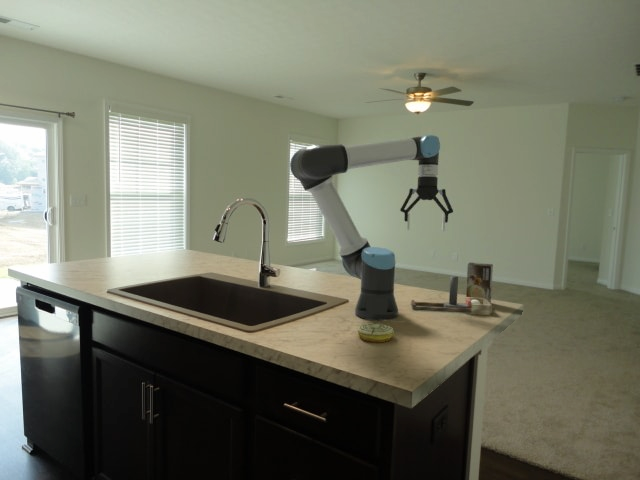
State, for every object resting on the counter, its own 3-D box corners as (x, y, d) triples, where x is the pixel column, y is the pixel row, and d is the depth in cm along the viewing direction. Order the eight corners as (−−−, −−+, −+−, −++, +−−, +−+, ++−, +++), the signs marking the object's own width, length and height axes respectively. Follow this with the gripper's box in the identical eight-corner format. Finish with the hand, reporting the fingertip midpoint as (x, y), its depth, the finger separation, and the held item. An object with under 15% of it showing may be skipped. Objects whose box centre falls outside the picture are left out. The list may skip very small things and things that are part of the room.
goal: (471, 314, 164) (472, 304, 163) (465, 305, 175) (466, 297, 175) (491, 315, 163) (492, 305, 162) (484, 306, 174) (485, 298, 174)
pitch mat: (412, 311, 167) (412, 310, 167) (410, 304, 178) (410, 303, 178) (491, 315, 163) (491, 314, 163) (484, 307, 174) (484, 307, 174)
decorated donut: (379, 331, 143) (379, 319, 142) (400, 341, 133) (400, 328, 133) (351, 335, 138) (351, 323, 138) (370, 346, 129) (371, 333, 128)
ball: (474, 298, 167) (483, 304, 167) (472, 296, 171) (481, 302, 170) (468, 307, 167) (477, 313, 167) (466, 305, 171) (475, 310, 171)
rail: (412, 309, 168) (412, 304, 168) (411, 304, 176) (411, 299, 176) (470, 312, 166) (470, 307, 165) (466, 307, 173) (466, 302, 173)
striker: (445, 309, 168) (446, 277, 167) (443, 306, 173) (445, 275, 172) (470, 310, 167) (472, 278, 166) (468, 307, 172) (469, 276, 171)
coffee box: (491, 303, 181) (494, 264, 180) (489, 307, 176) (492, 266, 174) (467, 300, 185) (470, 262, 184) (465, 304, 180) (467, 264, 178)
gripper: (395, 175, 175) (393, 230, 177) (462, 176, 172) (459, 232, 174) (395, 176, 183) (393, 228, 185) (459, 177, 179) (456, 230, 181)
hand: (425, 230), depth 179 cm, fingers open, 13 cm apart
